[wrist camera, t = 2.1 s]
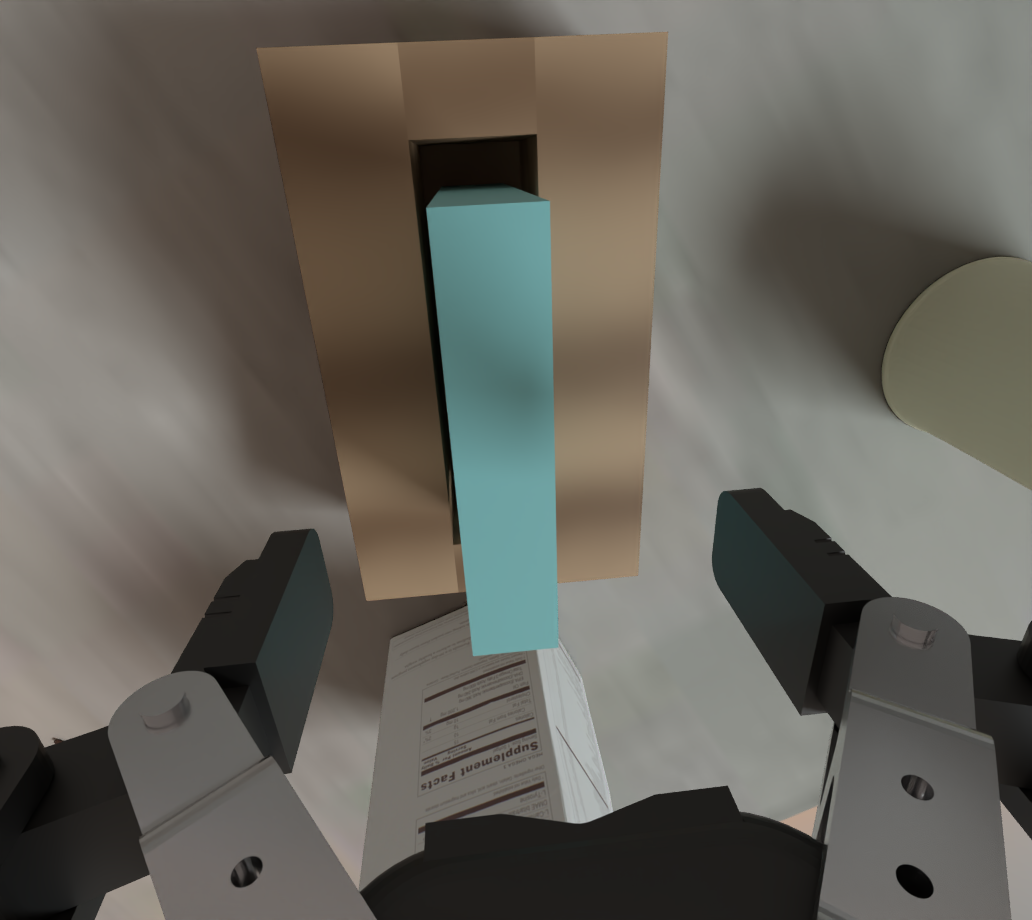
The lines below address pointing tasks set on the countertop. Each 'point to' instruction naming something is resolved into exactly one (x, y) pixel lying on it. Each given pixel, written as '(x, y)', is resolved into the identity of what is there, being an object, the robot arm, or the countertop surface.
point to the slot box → (410, 283)
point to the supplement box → (477, 740)
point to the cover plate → (500, 406)
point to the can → (969, 364)
